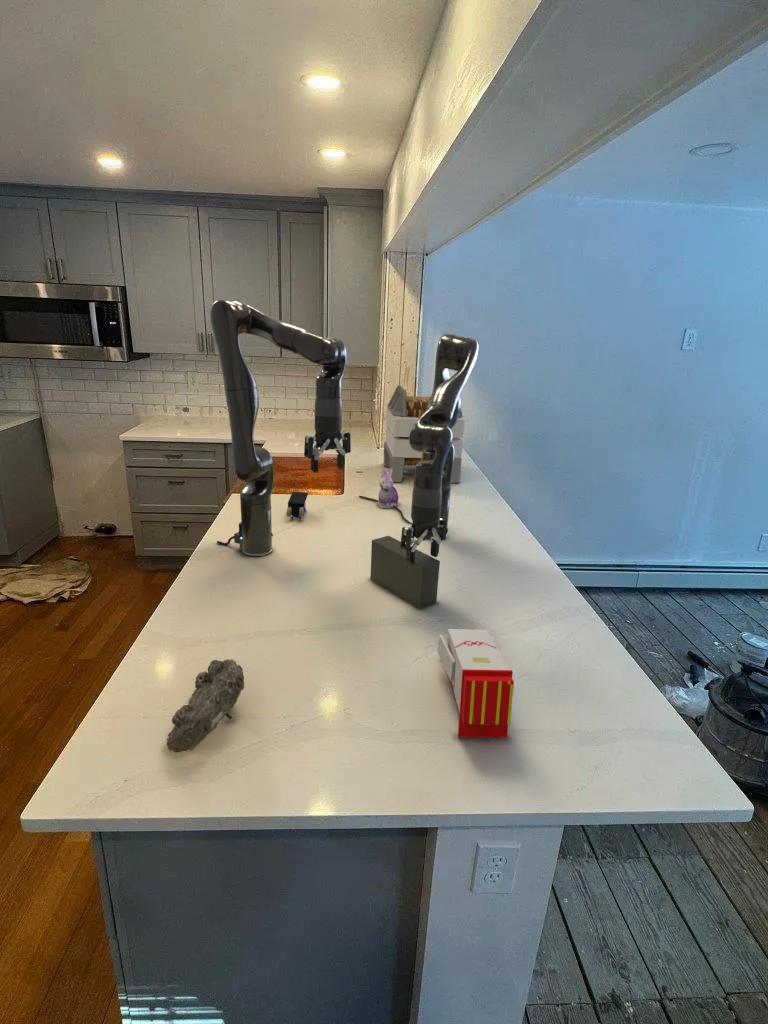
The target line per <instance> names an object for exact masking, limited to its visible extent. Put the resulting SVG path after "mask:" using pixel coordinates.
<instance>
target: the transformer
mask: <svg viewBox="0 0 768 1024" xmlns="http://www.w3.org/2000/svg"><path fill="white" fill-rule="evenodd" d="M407 394H408V393H407V390H406V389H404V388H403V387H402V385H399V384H398V385H397V386H396V388H395V390H394V392H393V394H392V395H391V398H390V400H389V402H388V404H387V405H386V413H385V414H386V415H385V423H386V428H385V438H384V442H383V466H384V467H388V468H389V469H390V468H392V475H391V478H392V481H393V483H402V482H403V475H404V469H405V466H406V467H407V466H411V467H412V466H413V467H415V466H416V464H417V463H418V462H420V461H421V456H422V452H417V451H415V450H413V449H412V448H411V446H410V443H409V435H410V432H411V430H412V428H413V426H414V425H415V423H416V422H417V421H418V420H419V418H420V417H421V416H422V415H423V413H424V412H425V411H426V408H427V405H428V403H429V400H430V397H431V396H415V395H414V396H413V395H412V396H411V395H407ZM464 429H465V419H464V418H463V411H462V408H461V407H460V412H459V417H458V420H457V423H456V424H455V426H454V427H453V428H452V429H451V432H452V435H453V440H452V445H453V446H454V449H455V458H454V465H453V472H452V482H451V484H455V483H456V484H459V483H461V472H462V461H463V460H462V453H463V442H464V441H463V440H462V439H463V438H464V431H465V430H464Z"/></svg>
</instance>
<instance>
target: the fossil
mask: <svg viewBox="0 0 768 1024" xmlns="http://www.w3.org/2000/svg"><path fill="white" fill-rule="evenodd" d="M243 670H244V669H243V667H242V665H240V664H237V662H236V661H235V660H234V659H232V658H231V659H227V658H226V659H224V660H223V661H222V660H217V659H212V660H211V661H210V663H209V665H208V666H207V671H201V672H199V673H198V674H197V675H196V676H195V680H194V684H195V685H194V687H195V689H194V690H193V693H192V694H191V697H190V698H189V700H188V704H184V705H182V706H181V707H180V709H177V710H176V711H175V713H174V715H173V716H172V718H171V723H172V724H173V727H172V730H171V731H170V732H168V734H167V738H166V741H167V742H166V745H167V749H168V750H169V751H173V752H174V753H176V754H178V753H182V752H188V751H189V752H192V751H193V750H195V748H196V747H197V746H199V744H200V743H201V742H203V741H204V740H205V739H206V738H207V737H208V736H209V735H210V734H211V733H212V732H214V730H215V729H217V727H218V726H219V724H220V722H221V721H222V720H223V719H224V718H225V716H226V717H227V719H229V720H233V717H232V715H230V714H229V710H230V709H231V708H234V706H235V704H236V703H237V702H238V699H239V697H240V695H241V693H242V691H243V690H245V689H244V688H245V675H244V671H243Z"/></svg>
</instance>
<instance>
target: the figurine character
mask: <svg viewBox="0 0 768 1024" xmlns="http://www.w3.org/2000/svg"><path fill="white" fill-rule="evenodd" d="M308 495H309V492H305V491H304V492H303V491H291V494H290V497H289V499H288V501H287V507H286V517H288V518H289V517H290V521H294V518H295V519H297V518H298V522H299V521H301V520H302V518H303V517H305V514H306V513H307V512H308V510H307V508H306V507H307V503H306V502H307V498H308Z"/></svg>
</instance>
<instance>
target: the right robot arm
mask: <svg viewBox="0 0 768 1024" xmlns="http://www.w3.org/2000/svg"><path fill="white" fill-rule="evenodd" d="M435 351H436V352H435V362H434V365H435V366H434V376H433V377H434V379H433V386H432V391H431V394H430V396H429V397H430V400H429V403H428V405H427V408H426V411H425V412H424V413H423V415H422V416H421V417H420V418H419V420H418V421H417V422H416V423H415V425H414V426H413V428H412V430H411V432H410V435H409V443H410V446H411V448H412V449H413V450H415V451H417V452H422V456H421V461H420V462H418V463H417V464H416V466H414V477H413V478H414V479H413V489H412V494H411V507H410V508H411V509H410V518H411V521H412V522H411V521H409V520H408V519H406V517H404V514H403V511H401V510H400V508H399V507H397V505H396V506H394V505H393V507H392V508H393V509H395V510H396V511H398V512H399V514H400V517H401V519H402V520H403V521H405V522H406V523H407V524H408V525H409V524H410V525H411V526H409V527H406V526H403V527H401V535H400V542H401V545H400V548H401V549H403V550H406V551H407V553H406V561H407V563H409V564H411V565H413V564H414V563H415V549H417V548H418V547H419V546H420V545H421V544H422V542H424V541H431V542H430V552H429V553H430V556H431V557H433V558H437V557H438V556H439V554H440V545H441V543H442V541H443V542H444V541H446V539H447V538H448V533H449V528H448V525H449V517H450V516H449V514H450V504H451V494H452V493H451V491H452V483H451V482H452V472H453V465H454V458H455V449H454V446H453V445H452V440H453V435H452V432H451V429H452V428H453V427H454V426H455V424H456V423H457V420H458V417H459V412H460V408H461V405H462V402H461V401H462V400H461V398H460V396H461V394H462V392H463V390H464V388H465V386H466V384H467V383H468V380H469V378H470V376H471V374H472V372H473V369H474V368H475V365H476V362H477V358H478V353H479V343H478V341H477V340H476V339H473V338H470V337H467V336H461V335H457V334H452V333H444V334H442V335H441V336H440V338H439V339H438V343H437V346H436V350H435ZM449 370H451V371H455V372H456V373H454V374H453V375H452V376H451V377H450V374H449ZM358 498H361V499H365V500H369V501H373V502H376V503H378V501H379V499H375V498H372V497H368V496H363V495H358ZM405 544H406V545H405Z"/></svg>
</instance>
